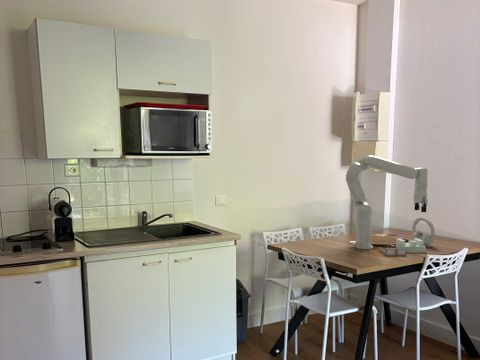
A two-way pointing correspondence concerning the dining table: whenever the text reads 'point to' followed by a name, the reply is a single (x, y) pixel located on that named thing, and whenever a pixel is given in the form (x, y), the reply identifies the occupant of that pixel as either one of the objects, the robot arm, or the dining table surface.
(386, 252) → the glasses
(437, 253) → the dining table surface
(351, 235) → the dining table surface
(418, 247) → the stand
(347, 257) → the dining table surface
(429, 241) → the headphones
